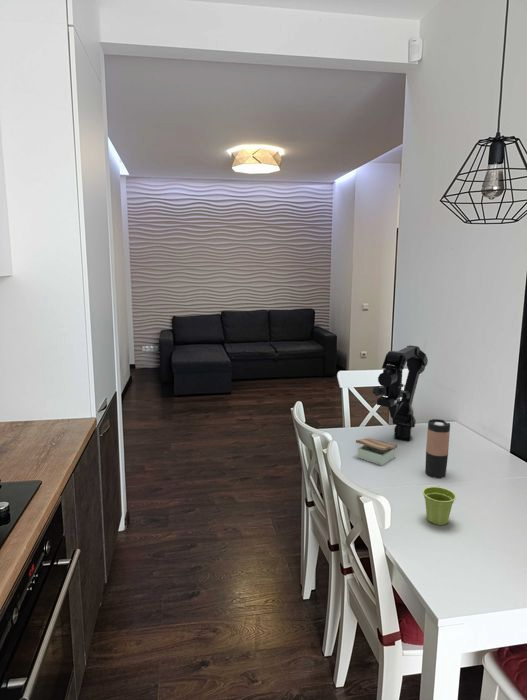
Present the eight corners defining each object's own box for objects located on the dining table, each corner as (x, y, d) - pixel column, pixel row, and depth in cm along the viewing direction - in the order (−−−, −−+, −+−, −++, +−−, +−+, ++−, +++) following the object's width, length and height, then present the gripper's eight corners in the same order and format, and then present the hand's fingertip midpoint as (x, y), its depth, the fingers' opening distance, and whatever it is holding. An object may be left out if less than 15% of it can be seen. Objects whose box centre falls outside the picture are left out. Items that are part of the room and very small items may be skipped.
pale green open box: (370, 450, 196) (370, 441, 195) (394, 457, 188) (395, 448, 188) (357, 457, 188) (357, 448, 188) (382, 465, 181) (382, 455, 180)
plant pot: (417, 511, 148) (418, 486, 146) (447, 512, 148) (449, 486, 146) (426, 528, 139) (428, 501, 137) (458, 528, 139) (460, 501, 137)
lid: (369, 440, 195) (370, 438, 195) (396, 447, 188) (396, 445, 188) (355, 442, 187) (355, 440, 187) (383, 450, 179) (383, 448, 179)
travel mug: (423, 476, 172) (427, 424, 168) (425, 468, 179) (428, 418, 175) (446, 480, 169) (450, 427, 165) (446, 471, 176) (450, 420, 172)
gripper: (387, 374, 206) (385, 408, 209) (365, 382, 192) (364, 419, 195) (411, 378, 198) (409, 414, 201) (390, 387, 185) (388, 425, 188)
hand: (392, 417), depth 197 cm, fingers closed
